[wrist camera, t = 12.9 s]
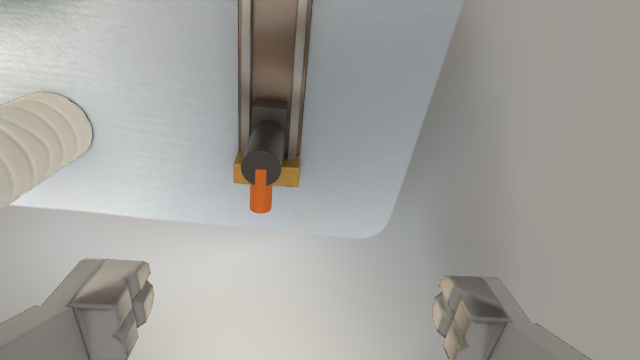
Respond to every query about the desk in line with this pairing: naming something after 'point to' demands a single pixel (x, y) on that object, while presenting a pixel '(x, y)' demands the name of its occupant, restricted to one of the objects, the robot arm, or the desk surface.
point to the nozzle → (264, 152)
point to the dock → (286, 178)
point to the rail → (273, 63)
